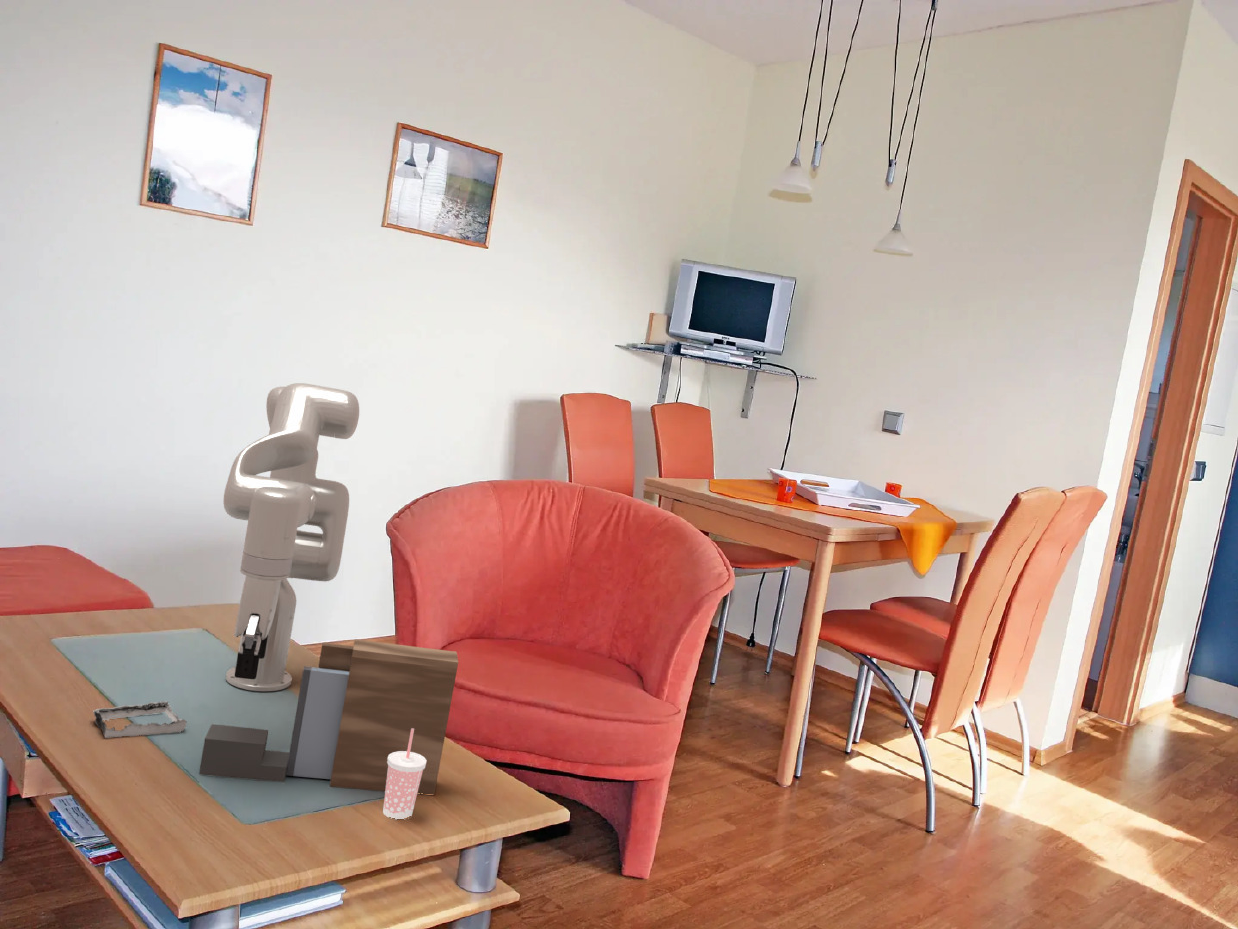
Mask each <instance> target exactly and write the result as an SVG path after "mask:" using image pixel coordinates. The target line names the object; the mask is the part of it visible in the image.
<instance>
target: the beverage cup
mask: <svg viewBox="0 0 1238 929" xmlns="http://www.w3.org/2000/svg"><path fill="white" fill-rule="evenodd" d="M413 733H414V728H411V733H410V738H409V744H408V749H407V751H397V752H393V753H391V754H389V756H388V758H387V760H388V761H387V763H388V772H387V780H386V789H385V791H384V798H383V810H382V813H383V815H384V816H386V817H387V818H389V817H391V818H390V819H392V818H395V819H394V820H397V819H404V818H407V817H409V816H411V817H412V816H413V812H414V808H415V803H416V799H417V796H418V794H417V792H418V788H419V784H420V780H421V776H422V772H423V769H425V766H426V762H427V760H426V759H425V757H423V756H422V755H420V754H417V753H414V752H410V750H411V744H412V739H413ZM404 820H405V819H404Z"/></svg>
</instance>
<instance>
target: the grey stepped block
mask: <svg viewBox="0 0 1238 929" xmlns="http://www.w3.org/2000/svg"><path fill="white" fill-rule="evenodd" d="M269 731H270V730H269V729H264V728H263V729H262V728H255V727H253V728H252V727H245V726H244V727H243V726H234V725H233V726H232V725H224V724H223V725H222V724H215V723H214V724H213V723H211V725H210V727H209V729H208V731H207V734H206V735H205V737H204V740H203V741H204V742H203V749H202V754H201V759H200V760H201V761H200V766H199V767H200V768H199V772H198V776H199V775H200V776H209V777H210V776H214V777H220V778H221V777H223V778H233V779H234V778H235V779H246V780H253V781H254V780H258V781H268V782H277V783H284V782H285V779H286V776H287V775H286V770H287V764H288V758H289V752H290V751H289V752H288V751H287V752H286V751H280V750H270V749H269V750H268V749H267V741H268V736H269Z"/></svg>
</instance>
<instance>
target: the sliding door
mask: <svg viewBox="0 0 1238 929" xmlns="http://www.w3.org/2000/svg"><path fill="white" fill-rule="evenodd" d="M348 677H349V671H340V670H332V669H323V668H318V667H315V666H314V667H312V666H303V670H302V676H301V681H300V686H299V693H298V699H297V706H296V711H295V717H294V721H293V722H294V724H293V729H292V734H291V740H290V747H289V758H288V764H287V770H286V776H290V777H292V776H293V777H299V778H300V777H302V778H310V779H311V778H313V779H324V780H325V779H326V780H331V775H332V770H333V764H334V758H335V752H336V746H337V741H338V735H339V729H340V723H341V717H342V712H343V706H344V700H345V694H346V688H347V683H348Z"/></svg>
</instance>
